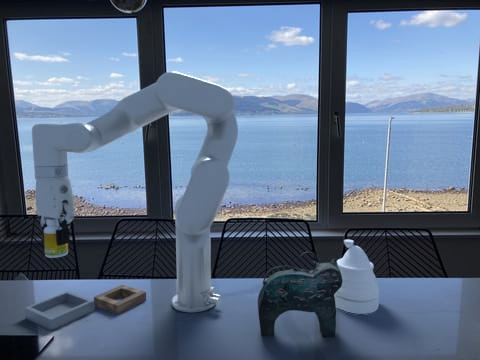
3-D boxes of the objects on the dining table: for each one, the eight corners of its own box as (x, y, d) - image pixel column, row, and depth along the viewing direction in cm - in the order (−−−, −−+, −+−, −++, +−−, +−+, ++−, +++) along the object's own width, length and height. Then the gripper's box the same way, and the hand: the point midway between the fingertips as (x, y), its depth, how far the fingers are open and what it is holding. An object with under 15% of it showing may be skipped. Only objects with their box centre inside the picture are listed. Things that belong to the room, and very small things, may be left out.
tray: (94, 311, 96) (94, 300, 96) (51, 331, 86) (51, 319, 86) (68, 300, 103) (67, 290, 102) (25, 318, 93) (24, 307, 92)
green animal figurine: (337, 326, 88) (339, 248, 86) (345, 341, 82) (347, 256, 79) (257, 326, 88) (257, 248, 86) (258, 341, 82) (258, 257, 79)
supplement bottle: (58, 259, 90) (56, 221, 88) (40, 257, 91) (38, 220, 89) (72, 252, 95) (71, 216, 94) (55, 250, 96) (53, 215, 95)
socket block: (146, 300, 103) (145, 291, 103) (118, 314, 94) (117, 305, 94) (122, 292, 108) (122, 284, 108) (94, 305, 100) (93, 297, 99)
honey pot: (327, 309, 97) (329, 245, 95) (333, 291, 109) (335, 233, 107) (378, 318, 92) (380, 250, 90) (378, 297, 104) (381, 237, 102)
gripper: (85, 173, 89) (89, 243, 91) (47, 170, 98) (51, 234, 100) (57, 175, 83) (61, 251, 85) (18, 172, 91) (23, 241, 94)
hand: (56, 241), depth 92 cm, fingers closed on supplement bottle, 5 cm apart
